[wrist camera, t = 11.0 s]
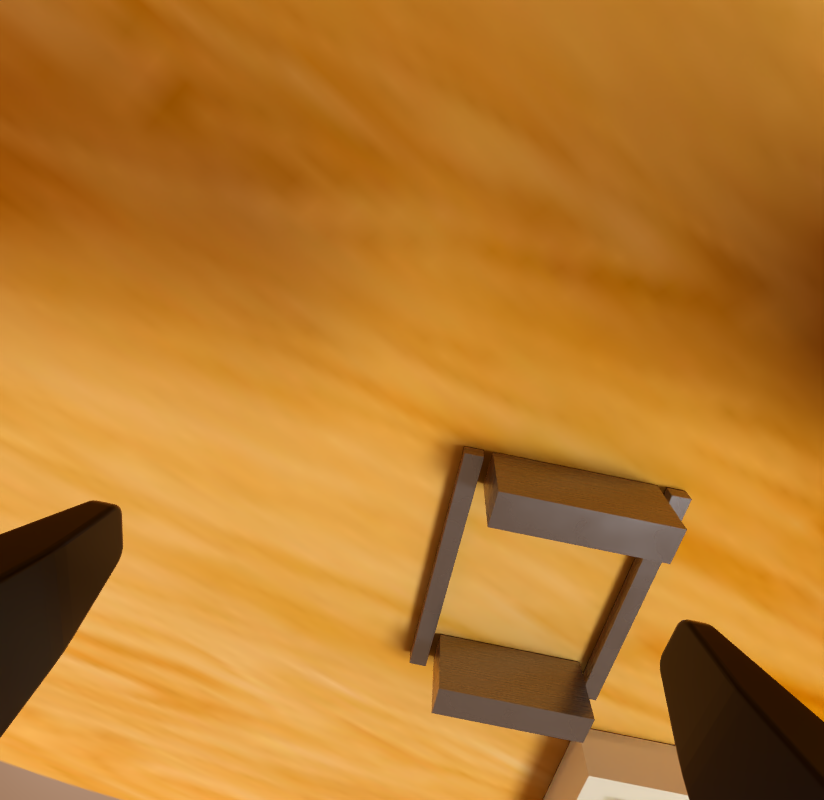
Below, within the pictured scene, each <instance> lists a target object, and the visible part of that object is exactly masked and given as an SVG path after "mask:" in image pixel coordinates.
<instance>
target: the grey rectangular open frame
mask: <svg viewBox="0 0 824 800" xmlns="http://www.w3.org/2000/svg"><path fill="white" fill-rule="evenodd" d="M483 459H484V451H483V450H481V449H476V448H471V447H466V446H464V450H463V454H462V458H461V461H460V465H459V469H458V473H457V477H456V481H455V484H454V488H453V492H452V496H451V500H450V503H449V507H448V511H447V515H446V519H445V523H444V526H443V530H442V534H441V538H440V542H439V546H438V549H437V553H436V557H435V561H434V565H433V569H432V572H431V576H430V580H429V584H428V588H427V591H426V595H425V599H424V603H423V607H422V611H421V614H420V618H419V622H418V626H417V630H416V634H415V637H414V641H413V645H412V649H411V653H410V663H413V664H418V665H423V666H426V662H427V659H428V655H429V652H430V648H431V645H432V641H433V637H434V634H435V630H436V627H437V623H438V620H439V616H440V613H441V609H442V605H443V602H444V598H445V595H446V591H447V588H448V584H449V580H450V577H451V573H452V570H453V566H454V563H455V559H456V556H457V552H458V548H459V545H460V541H461V538H462V534H463V531H464V527H465V523H466V520H467V516H468V513H469V509H470V506H471V502H472V499H473V495H474V491H475V488H476V484H477V481H478V477H479V474H480V470H481V466H482V463H483ZM484 494H485V504H486V514H487V524H488V527H490V528H495V529H500V530H505V531H510V532H515V533H520V534H525V535H530V536H535V537H540V538H545V539H550V540H555V541H559V542H564V543H569V544H574V545H579V546H584V547H589V548H594V549H599V550H604V551H609V552H614V553H619V554H624V555H628V556H633V557H635V559H634V562H633V564H632V566H631V568H630V571H629V573H628V575H627V577H626V579H625V582H624V584H623V586H622V588H621V591H620V593H619V595H618V597H617V599H616V602H615V604H614V606H613V608H612V611H611V613H610V615H609V617H608V619H607V622H606V624H605V626H604V628H603V631H602V633H601V635H600V637H599V639H598V642H597V644H596V646H595V648H594V651H593V653H592V655H591V657H590V659H589V662H588V664H587V666H586V668H585V671H584V673H583V674H582V670H581V666H580V662H575V661H570V660H565V659H560V658H555V657H550V656H545V655H541V654H536V653H531V652H526V651H521V650H516V649H511V648H506V647H501V646H496V645H491V644H486V643H481V642H476V641H471V640H466V639H461V638H456V637H451V636H446V635H441V634H440V638H439V641H438V645H437V648H436V652H435V655H434V666H433V691H432V713H435V714H440V715H445V716H450V717H455V718H460V719H465V720H470V721H475V722H480V723H485V724H490V725H495V726H500V727H505V728H510V729H515V730H520V731H525V732H530V733H535V734H540V735H545V736H550V737H555V738H560V739H565V740H570V741H575V742H580V743H583V742H584V740H585V738H586V736H587V734H588V732H589V730H590V728H591V726H592V724H593V722H594V720H595V719H594V716H593V712H592V708H591V704H590V700H589V699H592V700H596V699H597V697H598V695H599V693H600V690H601V688H602V686H603V684H604V682H605V680H606V678H607V676H608V674H609V672H610V669H611V667H612V665H613V663H614V661H615V659H616V657H617V655H618V653H619V651H620V649H621V646H622V644H623V642H624V640H625V638H626V636H627V634H628V632H629V630H630V628H631V625H632V623H633V621H634V619H635V617H636V615H637V613H638V611H639V609H640V607H641V605H642V602H643V600H644V598H645V596H646V594H647V592H648V590H649V588H650V586H651V584H652V581H653V579H654V577H655V575H656V573H657V571H658V569H659V567H660V565H661V563H662V562H663V563H668V564H670V563H671V561H672V559H673V557H674V555H675V553H676V551H677V549H678V547H679V545H680V543H681V541H682V539H683V537H684V535H685V532H686V530H687V529H686V528H685V526H684V525H683V523H682V522H681V521H682V519H683V516H684V514H685V512H686V510H687V508H688V506H689V504H690V502H691V500H692V499H691V498H690V497H689V495H688V494H687V492H686V491H681V490H677V489H672V488H666V491H665V493H664V495H663V493H662V492H661V490H660V489H659V487H658V486H657V485H652V484H647V483H642V482H637V481H632V480H628V479H623V478H618V477H613V476H608V475H603V474H598V473H593V472H588V471H583V470H579V469H574V468H569V467H564V466H559V465H554V464H549V463H544V462H539V461H534V460H530V459H525V458H520V457H515V456H510V455H505V454H500V453H495V452H493V453H492V456H491V460H490V463H489V467H488V470H487V474H486V477H485V481H484Z"/></svg>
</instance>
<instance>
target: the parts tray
mask: <svg viewBox="0 0 824 800" xmlns="http://www.w3.org/2000/svg"><path fill="white" fill-rule="evenodd" d="M543 800H689V797H688V794H687V791H686V787H685V783H684V780H683V776H682V773H681V768H680V764H679V760H678V755H677V751H676V746H673V745H668V744H663V743H658V742H653V741H648V740H643V739H638V738H633V737H628V736H623V735H618V734H613V733H608V732H603V731H598V730H593V729H590V730H589V732H588V734H587V736H586V738H585V740H584V742H583V743H580V742H575V741H571V742H570V744H569V746H568V748H567V750H566V752H565V754H564V756H563V759H562V761H561V763H560V765H559V767H558V769H557V771H556V773H555V776H554V778H553V780H552V782H551V784H550V786H549V788H548V790H547V793H546V795H545V797H544V799H543Z"/></svg>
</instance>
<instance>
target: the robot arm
mask: <svg viewBox="0 0 824 800" xmlns="http://www.w3.org/2000/svg"><path fill="white" fill-rule="evenodd" d="M122 549H123V533H122V512H121V509H120V507H119V506H117V505H115V504H111V503H106V502H101V501H89V502H86V503H83V504H80V505H78V506H75V507H72V508H70V509H67V510H64V511H62V512H59V513H56V514H54V515H51V516H48V517H45V518H43V519H40V520H37V521H35V522H32V523H29V524H27V525H24V526H21V527H19V528H16V529H13V530H11V531H8V532H5V533H3V534H0V737H1V736H2V735H3V733H4V732H5V731H6V729H7V728H8V727H9V725H10V724H11V723H12V721H13V720H14V719H15V717H16V716H17V715H18V713H19V712H20V711H21V709H22V708H23V707H24V705H25V704H26V703H27V701H28V700H29V699H30V697H31V696H32V694H33V693H34V692H35V690H36V689H37V688H38V686H39V685H40V684H41V682H42V681H43V680H44V678H45V677H46V676H47V674H48V673H49V672H50V670H51V669H52V668H53V666H54V665H55V663H56V662H57V661H58V659H59V658H60V656H61V655H62V654H63V652H64V651H65V649H66V648H67V646H68V644H69V643H70V641H71V640H72V638H73V637H74V635H75V633H76V632H77V630H78V628H79V627H80V625H81V623H82V622H83V620H84V618H85V617H86V615H87V613H88V612H89V610H90V608H91V607H92V605H93V603H94V602H95V600H96V598H97V597H98V595H99V593H100V592H101V590H102V588H103V587H104V585H105V583H106V582H107V580H108V578H109V577H110V575H111V573H112V572H113V570H114V568H115V567H116V565H117V563H118V562H119V559H120V557H121V554H122ZM660 671H661V677H662V682H663V687H664V692H665V697H666V701H667V706H668V711H669V716H670V721H671V726H672V731H673V736H674V741H675V746H676V751H677V755H678V760H679V764H680V768H681V773H682V776H683V780H684V783H685V787H686V791H687V794H688V797H689V800H824V722H823V721H822V720H821V719H820V718H819V717H818V716H816V715H815V714H814V713H813V712H812V711H811V710H809V709H808V708H807V707H806V706H805V705H804V704H802V703H801V702H800V701H799V700H798V699H797V698H795V697H794V696H793V695H792V694H791V693H790V692H788V691H787V690H786V689H785V688H784V687H783V686H781V685H780V684H779V683H778V682H777V681H776V680H774V679H773V678H772V677H771V676H770V675H769V674H767V673H766V672H765V671H764V670H763V669H762V668H760V667H759V666H758V665H757V664H756V663H755V662H753V661H752V660H751V659H750V658H749V657H748V656H746V655H745V654H744V653H743V652H742V651H741V650H739V649H738V648H737V647H736V646H735V645H734V644H732V643H731V642H730V641H729V640H728V639H727V638H726V637H724V636H723V635H722V634H721V633H720V632H719V631H717V630H716V629H715V628H714V627H713V626H711V625H709V624H706V623H702V622H697V621H692V620H682V621H681V622H679V623H678V625H677V627H676V628H675V630H674V632H673V634H672V636H671V638H670V640H669V642H668V644H667V646H666V648H665V650H664V651H663V653H662V656H661V660H660Z"/></svg>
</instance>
